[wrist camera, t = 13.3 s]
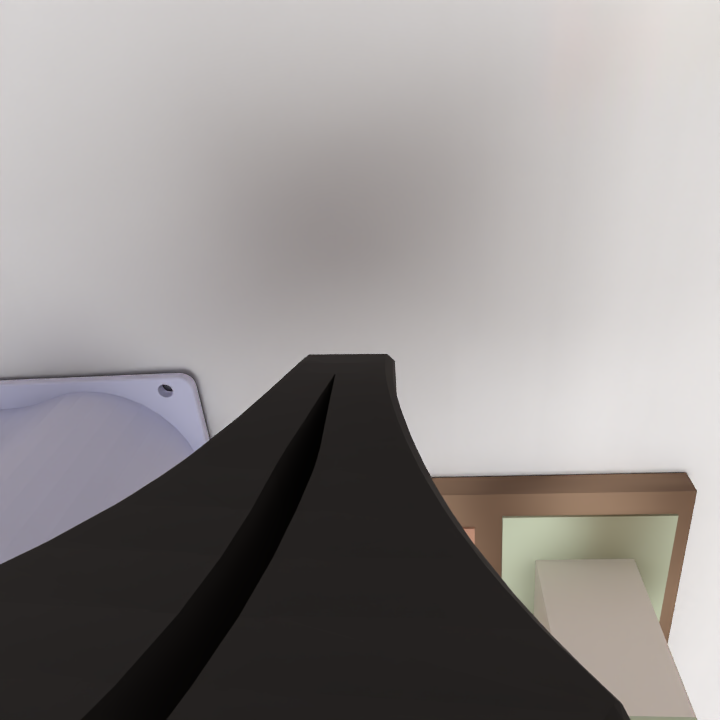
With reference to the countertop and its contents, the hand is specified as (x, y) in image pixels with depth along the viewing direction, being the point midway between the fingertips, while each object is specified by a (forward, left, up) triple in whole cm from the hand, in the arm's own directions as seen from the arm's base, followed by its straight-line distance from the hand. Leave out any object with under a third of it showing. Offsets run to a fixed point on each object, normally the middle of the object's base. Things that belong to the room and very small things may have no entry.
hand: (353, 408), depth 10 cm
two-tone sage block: (+6, -15, -9) cm, 18 cm away
